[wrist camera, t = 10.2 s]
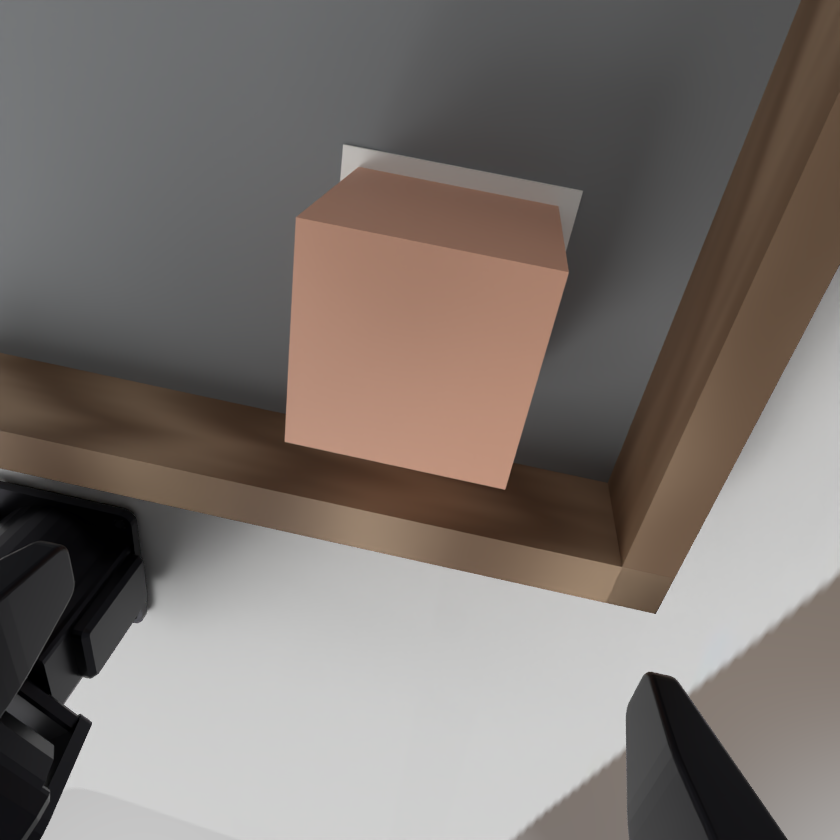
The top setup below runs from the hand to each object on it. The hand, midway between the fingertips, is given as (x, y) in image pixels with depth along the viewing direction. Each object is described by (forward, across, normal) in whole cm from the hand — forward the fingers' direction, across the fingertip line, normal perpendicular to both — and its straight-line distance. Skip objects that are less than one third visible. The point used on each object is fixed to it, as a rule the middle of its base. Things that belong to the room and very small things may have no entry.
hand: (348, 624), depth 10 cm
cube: (+12, 0, -1) cm, 12 cm away
